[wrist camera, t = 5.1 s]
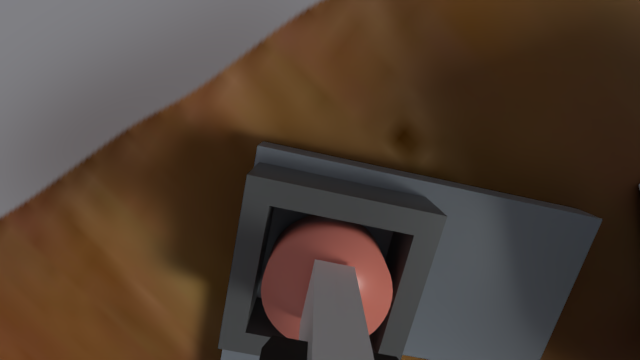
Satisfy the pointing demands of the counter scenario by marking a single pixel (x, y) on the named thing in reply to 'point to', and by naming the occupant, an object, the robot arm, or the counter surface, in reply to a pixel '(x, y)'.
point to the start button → (327, 245)
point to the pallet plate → (415, 256)
